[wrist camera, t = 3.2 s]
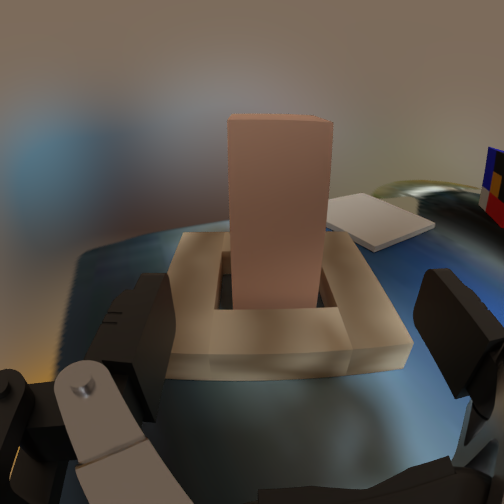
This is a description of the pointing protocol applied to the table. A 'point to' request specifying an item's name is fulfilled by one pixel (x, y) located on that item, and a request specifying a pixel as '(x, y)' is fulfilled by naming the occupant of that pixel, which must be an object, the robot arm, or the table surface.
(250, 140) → the terracotta block
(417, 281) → the table surface
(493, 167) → the puzzle toy
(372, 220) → the grey pad
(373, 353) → the puzzle board
